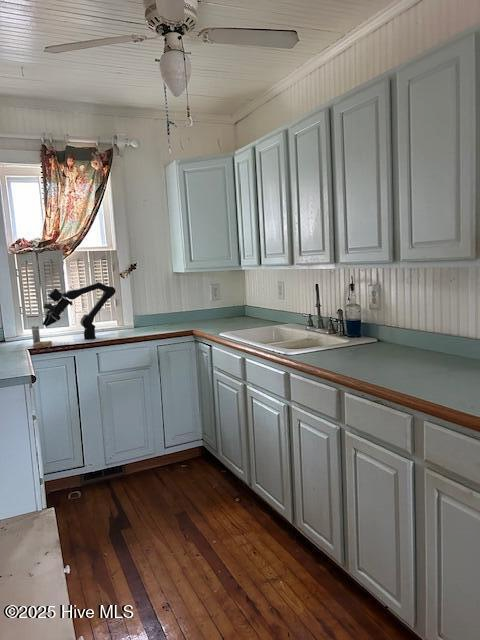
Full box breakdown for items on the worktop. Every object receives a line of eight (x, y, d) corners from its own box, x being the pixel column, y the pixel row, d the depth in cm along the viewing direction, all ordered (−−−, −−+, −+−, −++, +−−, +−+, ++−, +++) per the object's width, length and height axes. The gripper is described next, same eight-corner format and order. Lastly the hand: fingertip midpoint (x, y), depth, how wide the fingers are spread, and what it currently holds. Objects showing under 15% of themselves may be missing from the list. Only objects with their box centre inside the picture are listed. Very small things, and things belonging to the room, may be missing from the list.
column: (41, 344, 303) (39, 325, 302) (39, 345, 299) (37, 326, 297) (34, 344, 302) (32, 325, 301) (32, 345, 298) (30, 326, 297)
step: (52, 344, 299) (51, 340, 299) (49, 347, 290) (48, 343, 290) (36, 345, 297) (36, 342, 297) (33, 348, 289) (32, 344, 288)
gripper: (48, 297, 310) (31, 316, 306) (53, 299, 294) (35, 318, 290) (62, 308, 315) (45, 327, 311) (67, 310, 299) (50, 330, 295)
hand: (44, 325), depth 302 cm, fingers open, 9 cm apart
